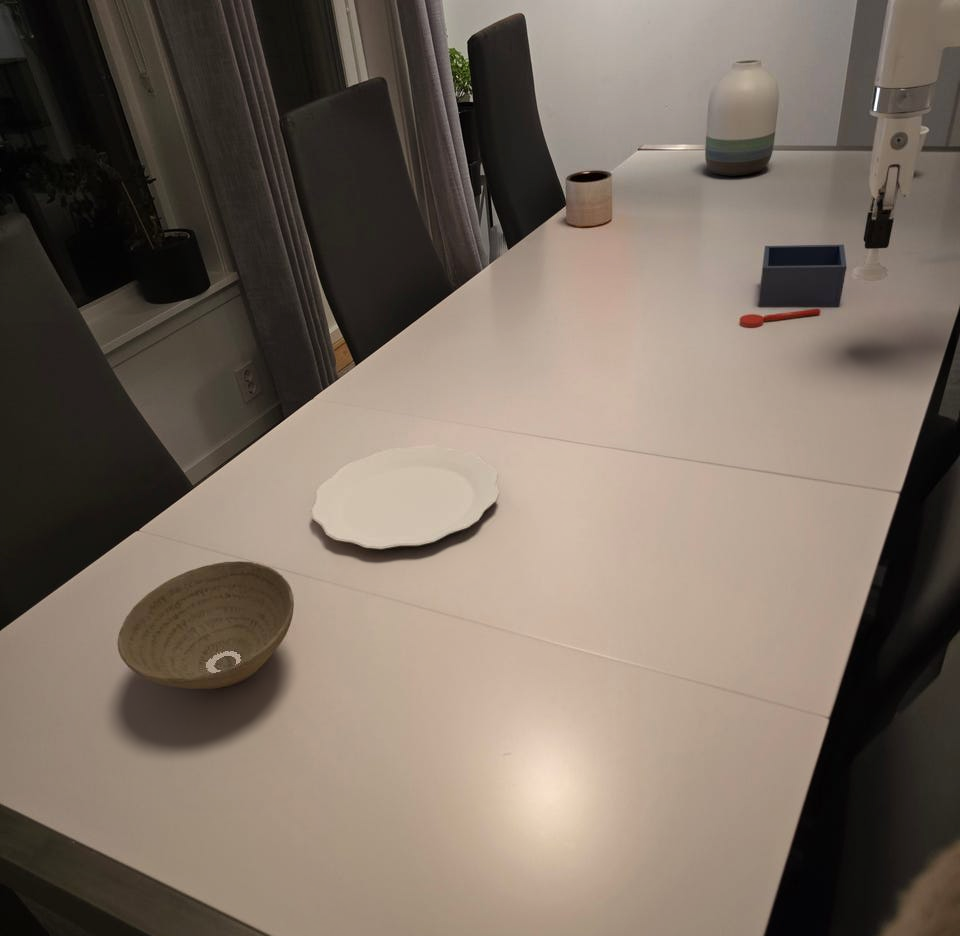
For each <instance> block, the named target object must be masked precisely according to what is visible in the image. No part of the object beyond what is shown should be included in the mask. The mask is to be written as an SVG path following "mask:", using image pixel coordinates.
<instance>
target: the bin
mask: <svg viewBox="0 0 960 936" xmlns="http://www.w3.org/2000/svg"><path fill="white" fill-rule="evenodd" d="M845 251H846V250H845V244H802V245H801V244H799V245H797V244H796V245H794V244H793V245H764V251H763V259H762V268H761V275H760V283H759V284H760V285H759V296H758V297H759V298H758V307H821V308H822V307H823V308H824V307H826V308H827V307H829V308H830V307H832V308H833V307H840V305H841V299H842V293H843V288H844V283H845V278H846V272H847V258H846V252H845Z"/></svg>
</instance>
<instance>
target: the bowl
mask: <svg viewBox="0 0 960 936" xmlns="http://www.w3.org/2000/svg"><path fill="white" fill-rule="evenodd" d="M294 608H295V601H294V594H293V591H292V588H291V585H290V584H289V582H288V580H287V579H286V578H285V577H284V576H283V575H282V574H281V573H279V572H278V571H277V570H275V569H274V568H272V567H270V566H267V565H263V564H261V563H258V562H257V563H256V562H253V561H242V560H239V561H224V562H218V563H216V562H215V563H212V564H208V565H204V566H200V567H197V568H193V569H190V570H188V571H186V572H184V573H180V574H178V575H176V576H175V577H172V578H170V579H168V580H167V581H165V582H163V583H162V584H160V585H159V586H157V587H155V588H154V589H153V590H152V591H150V592H148V593H147V594H146V595H145V596H144V597H142V599H140V600H139V602H137V603H136V604H135V605H134V606H133V607H132V608H131V610H130V612H129V613H128V614H127V615H126V617H125V619H124V621H123V622H122V625H121V627H120V629H119V632H118V636H117V650H118V655H119V656H120V658H121V659H122V661H123V662H124V664H125V665H126V666H127V667H128V668H129V669H130V670H131V671H132V672H134V674H135V673H136V674H137V675H139V676H141V678H142V677H143V678H144V679H147V680H149V681H152V682H154V683H157V684H160V685H163V686H167V687H170V688H171V687H172V688H180V689H191V690H195V689H196V690H202V689H203V690H211V689H220V688H224V687H229V686H231V685H232V686H233V685H234V684H238V683H239V682H242V681H244V680H246V679H247V678H249V677H251V676H252V675H253V674H255V673H256V672H257V671H258V670H259V669H260V668H262V667H263V665H264V664H265V663H266V662H267V660H269V658H271V656H272V655H273V654H274V653H275V651H276V650H277V649H278V647H279V646H280V645H281V643H282V642H283V640H284V639H285V637H286V636H287V633H288V632H289V629H290V626H291V623H292V620H293V616H294ZM225 651H229V652H230V651H234V652H237V654H240V656H241V657H240V659H241V661H240V663H238V664H236V659H235V658H234V657H232V656H224V657H222V658H220V659H219V660H217V661H216V663H215V665H214V667H215V668H216V669H217V670H221V671H220V672H216V673H211V672H209V671H208V670H207V669H208V668H206V662H208V660H209V659H210V658H211V659H212V658H213V656H214V655H217V653H218V654H220V652H221V653H223V652H225ZM235 664H236V665H235Z"/></svg>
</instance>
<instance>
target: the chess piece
mask: <svg viewBox="0 0 960 936" xmlns="http://www.w3.org/2000/svg"><path fill="white" fill-rule="evenodd" d="M879 253H880V248H876V249H869V251H868V255H867V258H866V261H865V262H863V264H862V265H859V266H856V267H854V269H853V270H852V274H851V276H852V278H853V279H856V280H858V281H863V282H875V281H881V280H884V279H886V278H887V277H888V275H889V274H888V272H889V269H888V268H887V267H885V265H881V262H879Z"/></svg>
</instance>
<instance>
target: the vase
mask: <svg viewBox="0 0 960 936" xmlns="http://www.w3.org/2000/svg"><path fill="white" fill-rule="evenodd" d="M709 95H710V96H709V99H708V104H707V117H706V133H705V147H704V148H705V149H704V150H705V151H704V157H705V162H706V163H705V164H706V166H707V168H708V169H709V171H711V172H712V173H714V174H716V175H720V176H727V177H737V176H747V175H750V174H755V173H758V172H760V171H762V170H763V169H764V168H766V167H767V165H768V164H769V163H770V160H771V158H772V155H773V153H774V152H773V151H774V146H775V137H776V132H777V131H776V130H777V122H778V121H777V120H778V113H779V102H780V91H779V86H778V83H777V80H776V79H775V78H774V77H773V76H772V75H771V74H770V73H769V72H768V71H767V70H766V69H764V68H763V66H762V60H761V59H759V58H745V59H744V58H743V59H739V60H735V61H733V64H732V67H731V68H730V70H729V71H728V72H727V73H726V74H724V76H722V77H721V78H720V79H719V80H718V81H717V82H716V83H715V85H714V86H713V88H712V90H711V92H710V94H709Z"/></svg>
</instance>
